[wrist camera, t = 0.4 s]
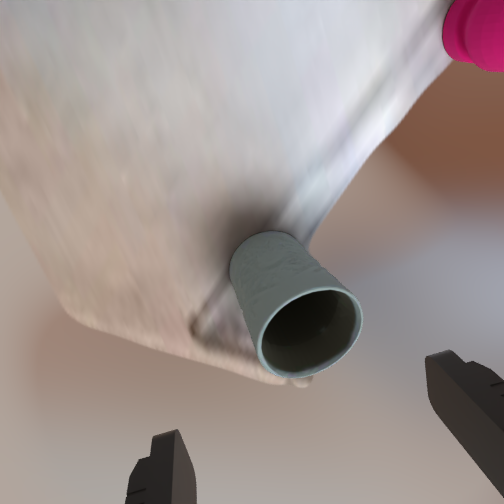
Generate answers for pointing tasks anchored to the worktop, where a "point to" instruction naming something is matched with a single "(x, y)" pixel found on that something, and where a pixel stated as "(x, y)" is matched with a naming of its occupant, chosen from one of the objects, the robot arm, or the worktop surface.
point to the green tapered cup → (292, 306)
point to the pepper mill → (476, 33)
